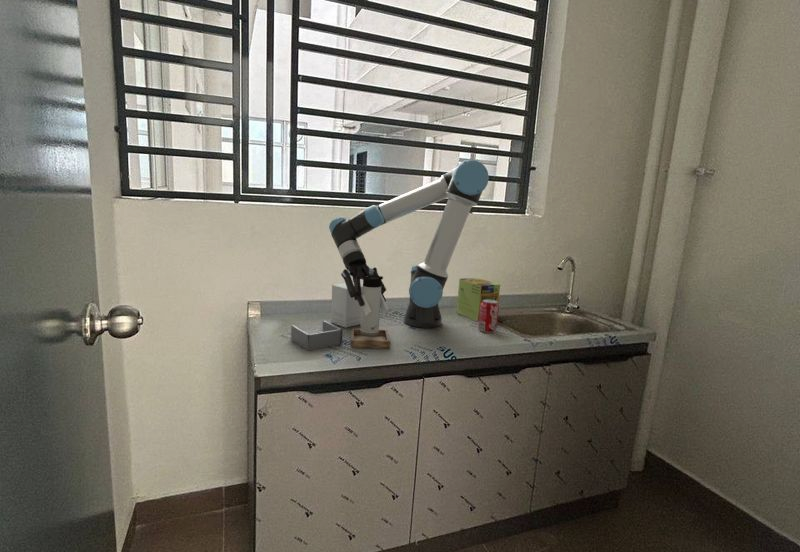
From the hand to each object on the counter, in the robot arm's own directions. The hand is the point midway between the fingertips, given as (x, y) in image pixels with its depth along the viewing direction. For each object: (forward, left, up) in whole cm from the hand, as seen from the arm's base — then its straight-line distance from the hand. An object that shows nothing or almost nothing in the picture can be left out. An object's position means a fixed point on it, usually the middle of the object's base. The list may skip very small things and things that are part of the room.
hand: (377, 312), depth 146 cm
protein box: (-46, -40, -12) cm, 62 cm away
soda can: (-44, -19, -11) cm, 49 cm away
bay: (+20, -2, -11) cm, 23 cm away
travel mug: (+2, -3, -9) cm, 9 cm away
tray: (+2, -3, -11) cm, 12 cm away
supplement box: (+10, -24, -12) cm, 28 cm away
